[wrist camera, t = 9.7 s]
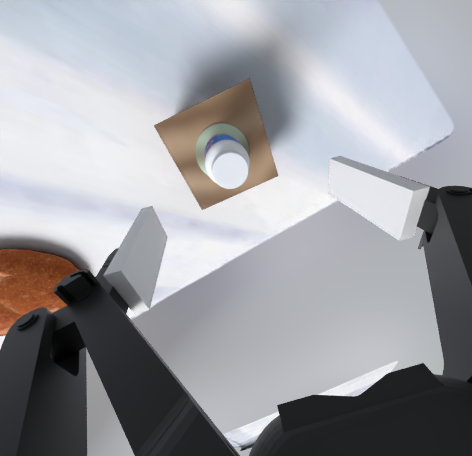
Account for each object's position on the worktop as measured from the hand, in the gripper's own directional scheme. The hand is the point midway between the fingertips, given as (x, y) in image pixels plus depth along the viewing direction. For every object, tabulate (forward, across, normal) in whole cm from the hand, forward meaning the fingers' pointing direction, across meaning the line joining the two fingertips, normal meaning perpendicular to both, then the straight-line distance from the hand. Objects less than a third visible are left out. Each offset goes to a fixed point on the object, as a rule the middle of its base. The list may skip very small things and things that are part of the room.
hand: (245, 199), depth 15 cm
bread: (+27, -53, -19) cm, 62 cm away
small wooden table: (+27, 0, 0) cm, 27 cm away
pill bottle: (+18, 0, 0) cm, 18 cm away
